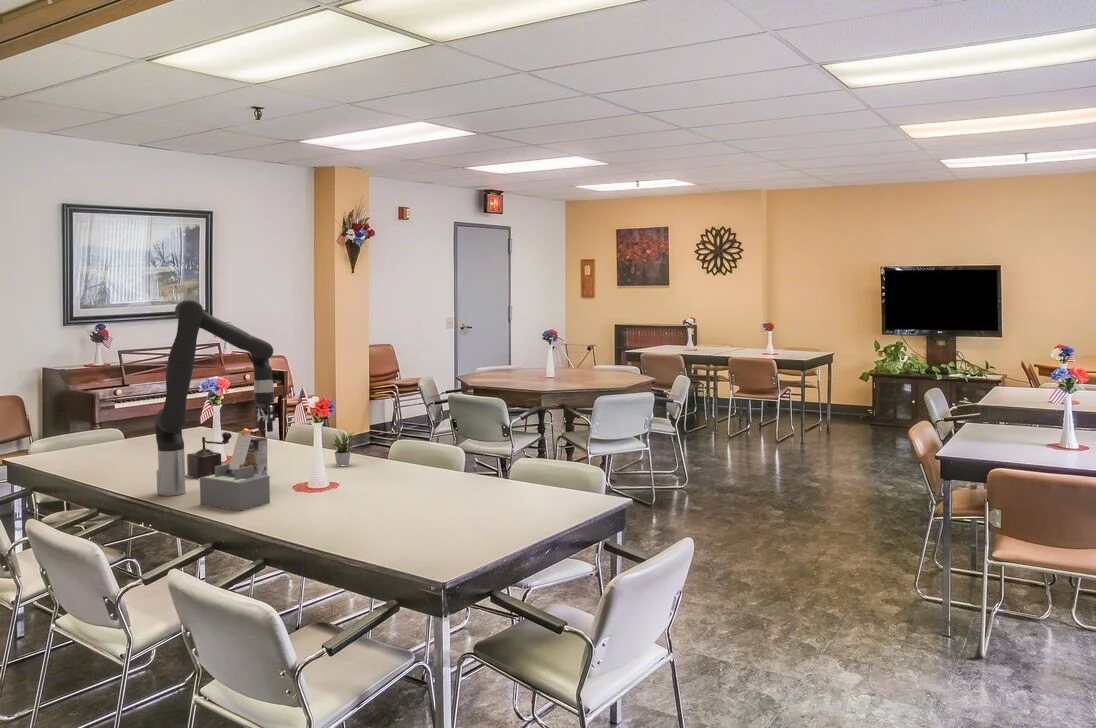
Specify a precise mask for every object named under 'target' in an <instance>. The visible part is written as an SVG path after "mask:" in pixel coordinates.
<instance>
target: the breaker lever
mask: <svg viewBox="0 0 1096 728" xmlns="http://www.w3.org/2000/svg"><path fill="white" fill-rule="evenodd" d="M251 437H253V435H252V434H251V430H250V429H249V428H247V427H246V428H243V429H242V430H241V432H238V434H237V438H236V442H235V444H234V448H233V453H232V456H231V459H230V462H229V463H230V466H229V469H227V471H226V474H227V475H232V476H235V469H238V468H242V467H243V466H244V463H245V459H246V455H247V452H248V448H249V444H250V441H251Z"/></svg>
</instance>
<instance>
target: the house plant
mask: <svg viewBox="0 0 1096 728" xmlns="http://www.w3.org/2000/svg"><path fill="white" fill-rule="evenodd" d="M356 432H357V431H353V432H351V433H347V434H346V433H345V432H344V431H342V432H341V431H338V433H339V435H340V436H341V440H340V438H339V436H337V435H336V434H335V433H332V434H333V436H334V437H335V439H334V437H332V436H331V435H330V436H329V437H331V438H332V439H333V440H334V443H332V442H331V443H330V445H332V446H333V449H336V451H334V456H335V462H336V466H337V465H339V466H338V467H340V466H341V465H348V464H349V465H350V460H351V459H350V458H351V451H350V450H348V449H349V448H350V447H351V448H354V447H355V444H353V443H354V442H355V440H354V441H351V440H352V439H353V438H354V437H355V436H357V435H358V433H356ZM354 433H356V434H354ZM329 448H331V446H329ZM349 465H348V466H349Z"/></svg>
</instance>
